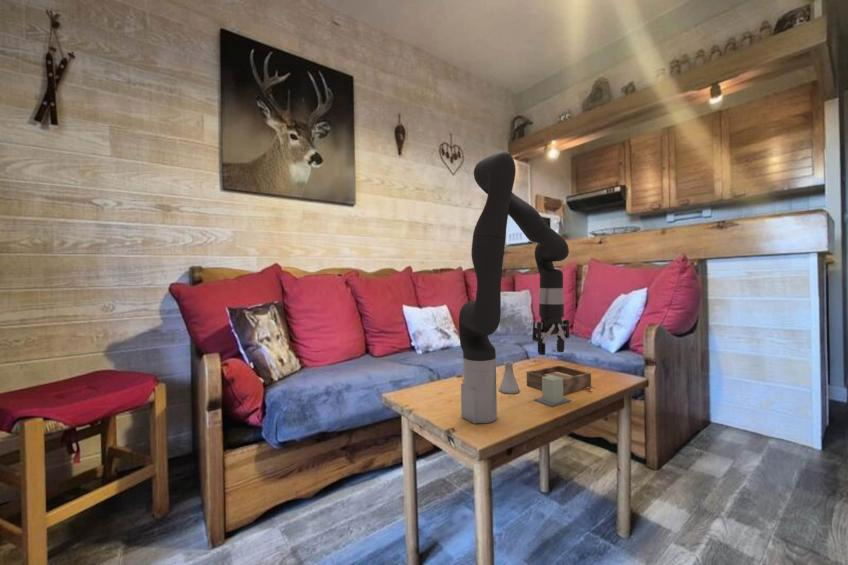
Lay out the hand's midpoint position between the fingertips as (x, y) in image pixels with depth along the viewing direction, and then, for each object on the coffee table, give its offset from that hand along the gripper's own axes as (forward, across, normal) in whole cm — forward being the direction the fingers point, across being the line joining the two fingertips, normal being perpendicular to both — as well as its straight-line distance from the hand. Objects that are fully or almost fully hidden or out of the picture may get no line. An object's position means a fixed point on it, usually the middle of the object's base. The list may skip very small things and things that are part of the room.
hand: (551, 353), depth 114 cm
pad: (+15, 0, 0) cm, 15 cm away
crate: (+15, +14, +9) cm, 22 cm away
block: (+15, 0, 0) cm, 15 cm away
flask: (+16, -4, +15) cm, 22 cm away
